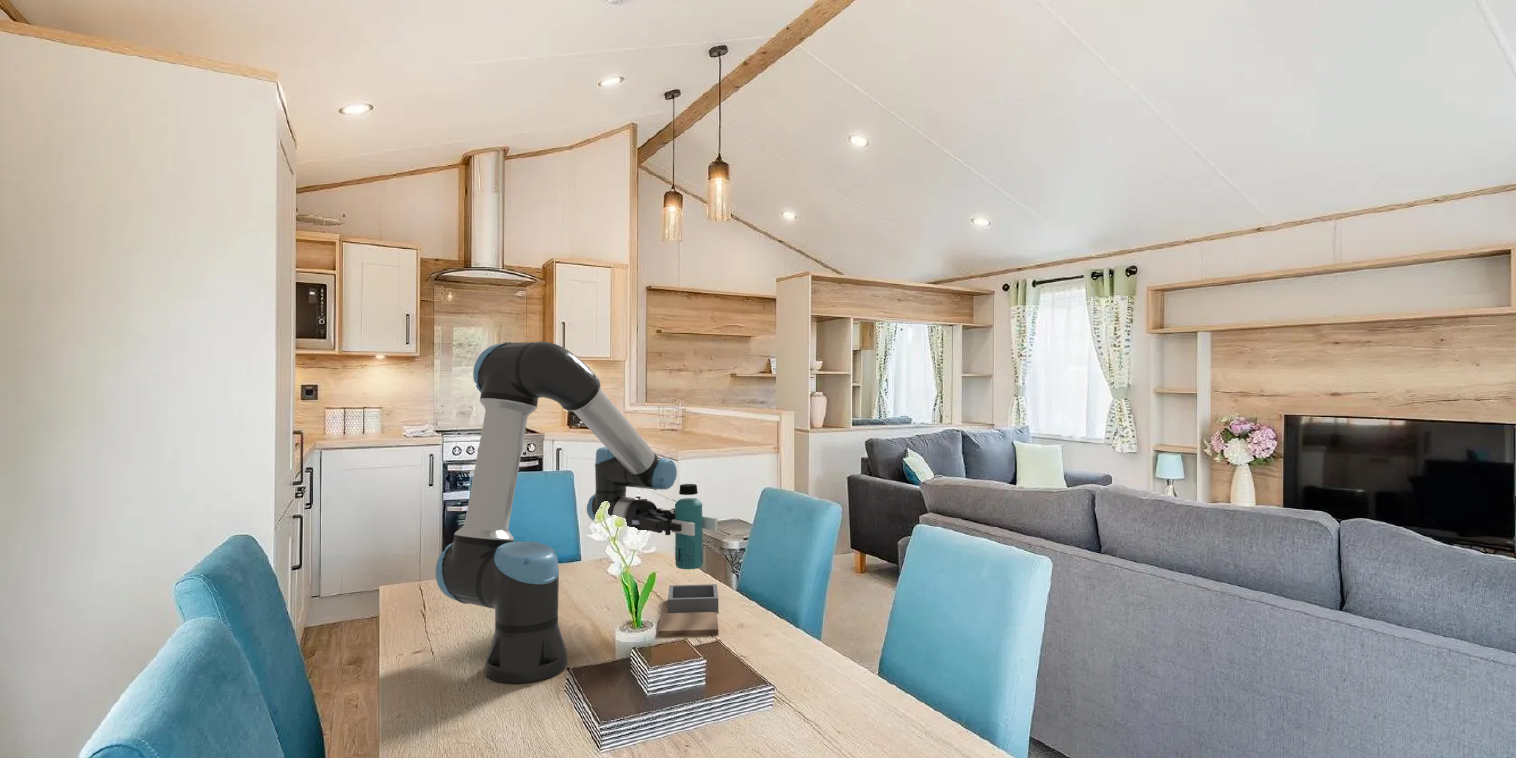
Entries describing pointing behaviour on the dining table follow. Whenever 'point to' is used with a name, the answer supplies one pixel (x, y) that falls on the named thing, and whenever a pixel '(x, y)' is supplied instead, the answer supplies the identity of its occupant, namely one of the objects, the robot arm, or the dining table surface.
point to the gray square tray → (693, 598)
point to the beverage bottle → (686, 545)
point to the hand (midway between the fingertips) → (704, 526)
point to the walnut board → (688, 624)
